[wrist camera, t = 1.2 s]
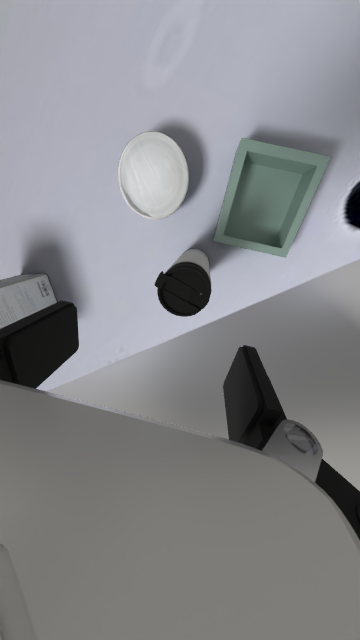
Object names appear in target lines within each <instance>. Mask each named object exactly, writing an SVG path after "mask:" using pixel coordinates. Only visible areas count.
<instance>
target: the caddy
mask: <svg viewBox="0 0 360 640" xmlns="http://www.w3.org/2000/svg"><path fill="white" fill-rule="evenodd" d="M330 158H331V157H330V156H326V155H321V154H316V153H311V152H307V151H302V150H297V149H293V148H288V147H283V146H278V145H274V144H269V143H264V142H260V141H255V140H250V139H245V138H241V141H240V143H239V146H238V148H237V151H236V154H235V158H234V162H233V166H232V170H231V174H230V177H229V181H228V185H227V189H226V193H225V197H224V200H223V204H222V208H221V212H220V216H219V220H218V223H217V227H216V231H215V235H214V239H213V240H214V241H215V242H219V243H223V244H228V245H232V246H237V247H241V248H246V249H250V250H254V251H259V252H263V253H268V254H272V255H277V256H281V257H285V258H286V256H287V254H288V251H289V249H290V247H291V245H292V242H293V240H294V238H295V236H296V233H297V231H298V229H299V227H300V225H301V222H302V220H303V218H304V216H305V213H306V211H307V209H308V207H309V205H310V202H311V200H312V198H313V196H314V193H315V191H316V189H317V187H318V184H319V182H320V180H321V178H322V176H323V173H324V171H325V169H326V167H327V164H328V162H329V160H330Z"/></svg>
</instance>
